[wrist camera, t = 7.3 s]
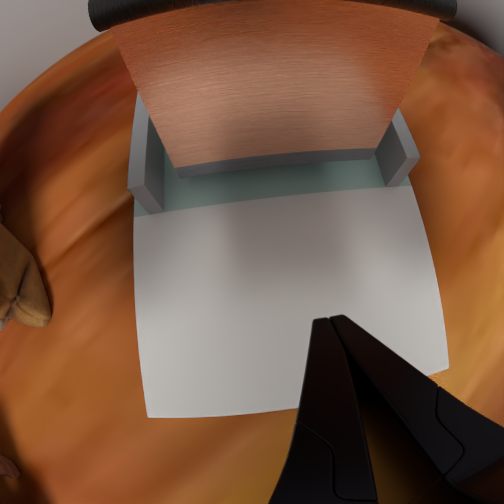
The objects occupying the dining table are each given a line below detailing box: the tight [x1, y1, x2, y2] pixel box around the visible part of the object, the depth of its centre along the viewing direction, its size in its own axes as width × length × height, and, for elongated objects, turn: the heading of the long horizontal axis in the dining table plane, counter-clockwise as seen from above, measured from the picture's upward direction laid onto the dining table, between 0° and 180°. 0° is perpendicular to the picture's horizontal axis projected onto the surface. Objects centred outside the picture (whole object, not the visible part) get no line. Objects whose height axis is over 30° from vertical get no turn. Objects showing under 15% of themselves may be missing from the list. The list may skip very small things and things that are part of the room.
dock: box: [127, 92, 449, 418], centre depth 13 cm, size 24×15×6 cm, turn 7°
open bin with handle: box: [88, 0, 457, 179], centre depth 11 cm, size 10×10×11 cm
